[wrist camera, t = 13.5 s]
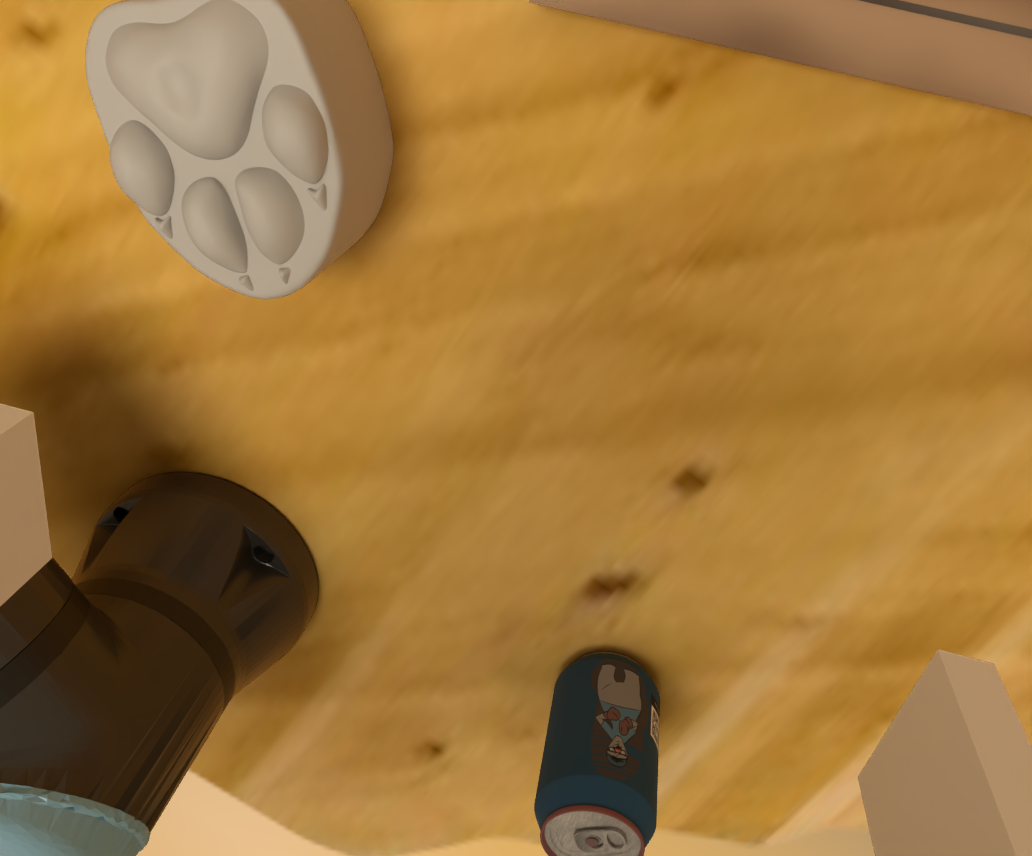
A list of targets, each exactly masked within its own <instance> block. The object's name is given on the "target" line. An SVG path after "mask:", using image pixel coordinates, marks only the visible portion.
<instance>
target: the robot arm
mask: <svg viewBox="0 0 1032 856" xmlns="http://www.w3.org/2000/svg"><path fill="white" fill-rule="evenodd" d="M317 599H318V580H317V574H316V570H315V566H314V563H313V561H312V558H311V556H310V554H309V551H308V549H307V548H306V546H305V544H304V542H303V541H302V539H301V538H300V536H299V535H298V534H297V532H296V531H295V530H294V528H293V527H292V526H291V525H290V524H289V523H288V522H287V521H286V520H285V519H284V517H283V516H282V515H280V514H279V513H278V512H277V511H276V510H275V509H274V508H272V507H271V506H270V505H269V504H267V503H266V502H265V501H263V500H262V499H260V498H259V497H257V496H256V495H254V494H252V493H251V492H249V491H247V490H245V489H243V488H241V487H239V486H237V485H235V484H232V483H230V482H227V481H225V480H222V479H219V478H215V477H212V476H207V475H203V474H197V473H186V472H174V473H164V474H159V475H155V476H151V477H149V478H146V479H144V480H142V481H139V482H138V483H136V484H134V485H133V486H132V487H130V488H129V489H128V490H127V491H126V492H124V493H123V494H122V495H121V496H120V497H119V498H118V499H117V500H116V501H115V502H114V503H113V504H112V505H111V506H110V507H109V508H108V509H107V510H106V511H105V512H104V513H103V515H102V516H101V518H100V519H99V521H98V522H97V524H96V526H95V528H94V530H93V533H92V535H91V537H90V539H89V542H88V544H87V546H86V549H85V551H84V553H83V555H82V558H81V560H80V562H79V565H78V567H77V569H76V572H75V574H74V576H73V578H72V580H71V579H70V577H69V576H68V575H67V574H66V573H65V572H64V570H63V569H62V568H61V567H60V566H59V564H58V563H57V562H56V561H55V560H54V559H53V557H52V551H51V544H50V536H49V528H48V520H47V512H46V505H45V497H44V489H43V481H42V473H41V466H40V458H39V450H38V442H37V434H36V427H35V419H34V412H31V411H28V410H24V409H20V408H16V407H12V406H8V405H5V404H1V403H0V856H136V855H137V854H138V852H139V851H141V850H142V849H143V848H144V847H145V846H146V845H147V843H148V841H149V836H150V832H151V831H152V829H153V827H154V826H155V824H156V822H157V821H158V819H159V817H160V816H161V814H162V812H163V811H164V809H165V807H166V806H167V804H168V802H169V801H170V799H171V797H172V796H173V794H174V793H175V791H176V789H177V787H178V786H179V784H180V783H181V781H182V779H183V777H184V776H185V774H186V773H187V771H188V769H189V768H190V766H191V764H192V763H193V761H194V760H195V758H196V756H197V755H198V753H199V751H200V750H201V748H202V746H203V745H204V743H205V741H206V740H207V738H208V736H209V735H210V733H211V731H212V730H213V728H214V726H215V725H216V723H217V722H218V720H219V718H220V716H221V715H222V713H223V711H224V710H225V708H226V706H227V705H228V703H229V702H230V700H231V699H232V697H233V696H234V695H235V694H236V693H238V692H239V691H240V690H241V689H243V688H244V687H245V686H246V685H248V684H249V683H250V682H251V681H253V680H254V679H255V678H256V677H258V676H259V675H260V674H261V673H263V672H264V671H265V670H266V669H268V668H269V667H270V666H271V665H273V664H274V663H275V662H276V661H277V660H279V659H280V658H281V657H283V656H284V655H285V654H286V653H287V652H288V651H289V650H290V649H291V648H292V647H293V646H294V645H295V644H296V642H297V641H298V640H299V638H300V636H301V635H302V633H303V631H304V629H305V628H306V626H307V624H308V622H309V621H310V619H311V617H312V615H313V613H314V610H315V608H316V604H317ZM858 780H859V785H860V790H861V794H862V799H863V803H864V808H865V812H866V817H867V821H868V826H869V830H870V835H871V840H872V844H873V848H874V853H875V856H1032V746H1031V744H1030V742H1029V740H1028V737H1027V735H1026V733H1025V731H1024V729H1023V726H1022V724H1021V722H1020V720H1019V717H1018V715H1017V713H1016V711H1015V709H1014V706H1013V704H1012V702H1011V700H1010V698H1009V695H1008V693H1007V691H1006V689H1005V687H1004V684H1003V682H1002V680H1001V678H1000V675H999V673H998V671H997V669H996V667H995V664H993V663H989V662H985V661H982V660H978V659H974V658H970V657H966V656H963V655H959V654H955V653H951V652H947V651H943V650H940V649H938V650H937V651H936V653H935V654H934V656H933V657H932V659H931V661H930V662H929V664H928V665H927V667H926V669H925V670H924V672H923V673H922V675H921V677H920V678H919V680H918V681H917V683H916V685H915V686H914V688H913V689H912V691H911V693H910V694H909V696H908V697H907V699H906V701H905V702H904V704H903V705H902V707H901V709H900V710H899V712H898V713H897V715H896V717H895V718H894V720H893V721H892V723H891V725H890V726H889V728H888V729H887V731H886V733H885V734H884V736H883V737H882V739H881V741H880V742H879V744H878V745H877V747H876V749H875V750H874V752H873V753H872V755H871V757H870V758H869V760H868V761H867V763H866V765H865V766H864V768H863V769H862V771H861V773H860V774H859V776H858Z"/></svg>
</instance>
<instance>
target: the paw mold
mask: <svg viewBox="0 0 1032 856" xmlns="http://www.w3.org/2000/svg"><path fill="white" fill-rule="evenodd" d="M85 65H86V74H87V81H88V86H89V90H90V93H91V96H92V99H93V102H94V106H95V108H96V111H97V114H98V117H99V119H100V122H101V125H102V128H103V132H104V135H105V137H106V140H107V142H108V145H109V147H110V162H111V167H112V170H113V174H114V176H115V179H116V181H117V183H118V185H119V186H120V188H121V189H122V191H123V192H124V193H125V194H126V195H127V196H128V197H129V198H130V199H131V200H132V201H134V202H135V203H136V204H137V206H138V208H139V209H140V211H141V213H142V214H143V216H144V217H145V219H146V220H147V221H148V222H149V224H150V225H151V226H152V227H153V228H154V229H155V230H156V231H157V232H158V233H159V234H160V235H161V237H162V238H163V239H164V240H165V241H166V242H167V243H168V244H169V245H170V246H171V247H172V248H173V249H174V250H175V251H176V252H177V253H179V254H180V255H181V256H182V257H183V258H184V259H185V260H186V261H187V262H188V263H189V264H191V265H192V266H193V267H194V268H195V269H196V270H198V271H199V272H201V273H202V274H204V275H205V276H207V277H208V278H210V279H212V280H213V281H215V282H217V283H219V284H221V285H223V286H225V287H227V288H229V289H231V290H234V291H236V292H238V293H241V294H243V295H246V296H249V297H254V298H260V299H273V298H279V297H284V296H287V295H290V294H292V293H294V292H296V291H297V290H299V289H301V288H302V287H304V286H305V285H306V284H308V283H309V282H310V281H311V280H312V279H314V278H315V277H316V276H317V275H318V274H320V273H321V272H322V271H323V270H324V269H325V268H327V267H328V266H329V265H330V264H331V263H333V262H334V261H335V260H336V259H337V258H339V257H340V256H341V255H342V254H343V253H345V252H346V251H347V250H348V249H349V248H350V247H352V246H353V245H354V244H355V243H356V242H357V241H358V240H359V239H360V238H361V237H362V236H363V235H364V234H365V233H366V231H367V230H368V229H369V227H370V226H371V225H372V223H373V222H374V220H375V219H376V217H377V215H378V213H379V211H380V208H381V206H382V203H383V200H384V196H385V193H386V189H387V185H388V181H389V177H390V172H391V167H392V161H393V154H394V145H393V136H392V130H391V124H390V119H389V115H388V110H387V106H386V102H385V98H384V94H383V90H382V86H381V83H380V79H379V76H378V72H377V69H376V66H375V63H374V61H373V58H372V56H371V53H370V50H369V47H368V44H367V41H366V39H365V36H364V33H363V30H362V28H361V26H360V23H359V21H358V19H357V17H356V15H355V13H354V12H353V10H352V8H351V7H350V5H349V4H348V2H347V1H346V0H125V1H120V2H117V3H114V4H112V5H109V6H108V7H106V8H105V9H104V10H102V11H101V12H100V13H99V14H98V15H97V17H96V18H95V20H94V22H93V24H92V26H91V29H90V31H89V35H88V40H87V46H86V56H85Z"/></svg>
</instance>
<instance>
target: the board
mask: <svg viewBox="0 0 1032 856" xmlns="http://www.w3.org/2000/svg"><path fill="white" fill-rule="evenodd" d="M529 2H530V3H534V4H539V5H543V6H548V7H552V8H556V9H561V10H565V11H570V12H574V13H579V14H583V15H587V16H592V17H596V18H601V19H605V20H609V21H614V22H618V23H623V24H627V25H632V26H636V27H640V28H645V29H649V30H654V31H658V32H663V33H667V34H671V35H676V36H680V37H685V38H689V39H694V40H698V41H702V42H707V43H711V44H716V45H720V46H724V47H729V48H733V49H738V50H742V51H747V52H751V53H755V54H760V55H764V56H769V57H773V58H778V59H782V60H786V61H791V62H795V63H800V64H804V65H808V66H813V67H817V68H822V69H826V70H831V71H835V72H839V73H844V74H848V75H853V76H857V77H862V78H866V79H870V80H875V81H879V82H884V83H888V84H893V85H897V86H901V87H906V88H910V89H915V90H919V91H923V92H928V93H932V94H937V95H941V96H946V97H950V98H954V99H959V100H963V101H968V102H972V103H977V104H981V105H985V106H990V107H994V108H999V109H1003V110H1007V111H1012V112H1016V113H1021V114H1025V115H1030V116H1032V0H529Z"/></svg>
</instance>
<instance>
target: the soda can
mask: <svg viewBox="0 0 1032 856" xmlns="http://www.w3.org/2000/svg"><path fill="white" fill-rule="evenodd" d="M659 717H660V697H659V693H658V690H657V688H656V686H655V684H654V682H653V681H652V679H651V678H650V676H649V675H648V674H647V673H646V672H645V670H644V669H643V668H642V667H641V666H640V665H639V664H638V663H637V662H635V661H634V660H632V659H630V658H629V657H626V656H624V655H621V654H618V653H613V652H594V653H590V654H587V655H584V656H582V657H580V658H579V659H577V660H576V661H574V662H573V663H572V664H571V665H569V666H568V667H567V668H566V669H565V670H564V671H563V672H562V673H561V674H560V676H559V677H558V679H557V681H556V684H555V688H554V694H553V700H552V706H551V712H550V718H549V723H548V729H547V735H546V741H545V747H544V752H543V758H542V764H541V770H540V776H539V782H538V787H537V793H536V799H535V806H534V810H535V816H536V819H537V822H538V825H539V827H540V830H541V833H540V839H541V844H542V846H543V848H544V850H545V852H546V853H547V854H548V856H644V851H645V847H646V846H647V844H648V843H649V841H650V839H651V838H652V836H653V834H654V832H655V829H656V816H657V783H658V750H659Z"/></svg>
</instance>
